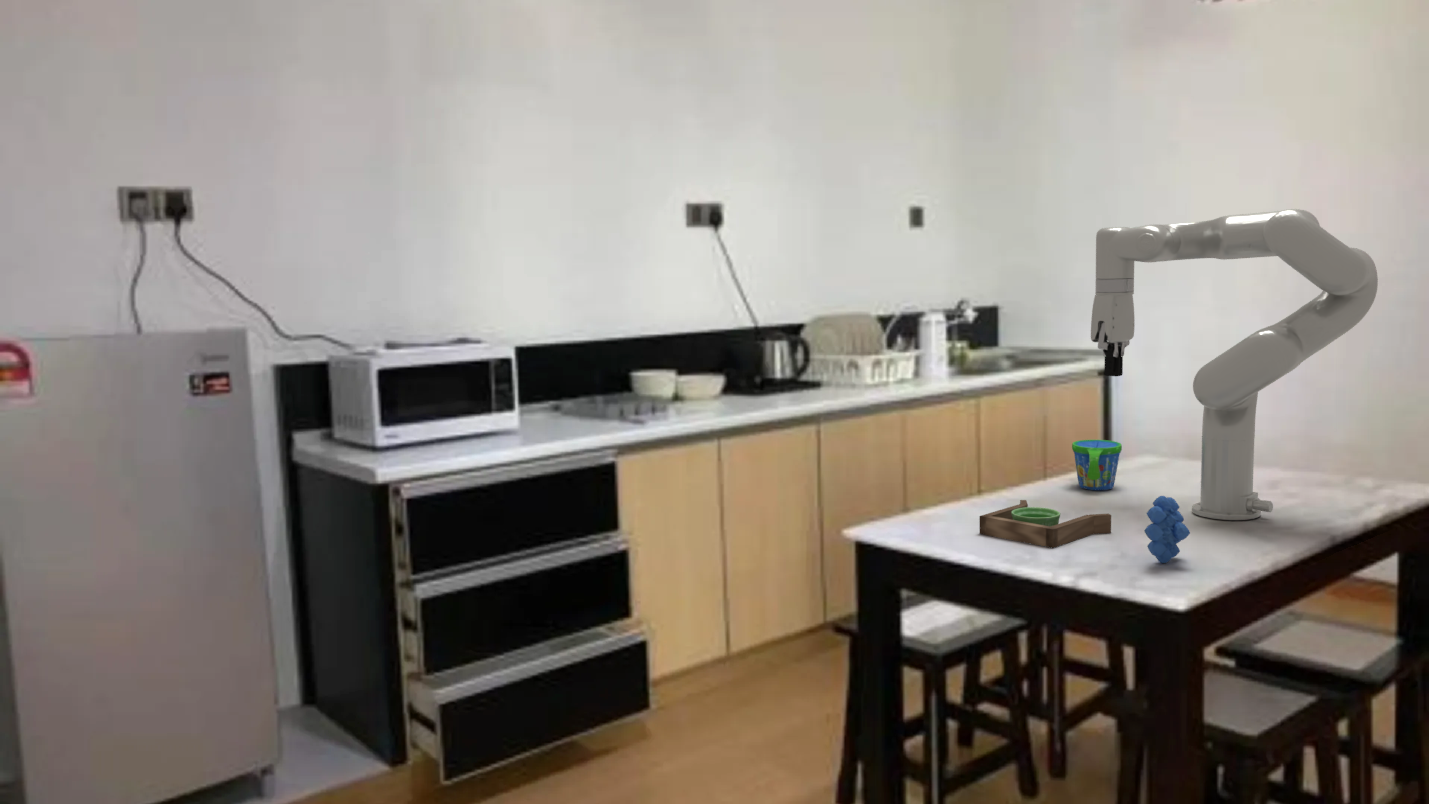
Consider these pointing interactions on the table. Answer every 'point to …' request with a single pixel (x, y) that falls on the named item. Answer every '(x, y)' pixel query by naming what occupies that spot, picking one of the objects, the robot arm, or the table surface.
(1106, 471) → the snack cup
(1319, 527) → the table surface
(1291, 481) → the table surface
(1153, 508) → the grapes
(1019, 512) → the ramekin
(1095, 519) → the walnut holder
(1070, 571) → the table surface
